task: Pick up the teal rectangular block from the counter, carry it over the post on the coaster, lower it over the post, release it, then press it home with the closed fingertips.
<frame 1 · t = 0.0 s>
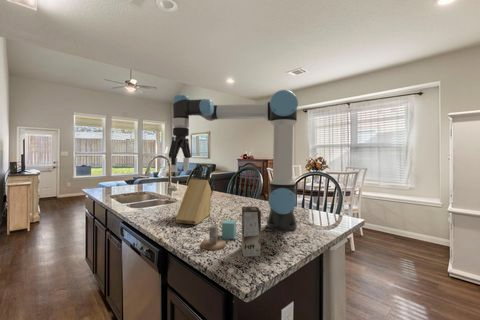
hand: (180, 171, 113), 28 cm above the counter, tool pointing down, fingers open, 13 cm apart
knife block: (197, 217, 134), on the counter
teal rectangular block: (229, 236, 102), on the counter
post: (213, 245, 92), on the counter
coffee box: (250, 252, 86), on the counter
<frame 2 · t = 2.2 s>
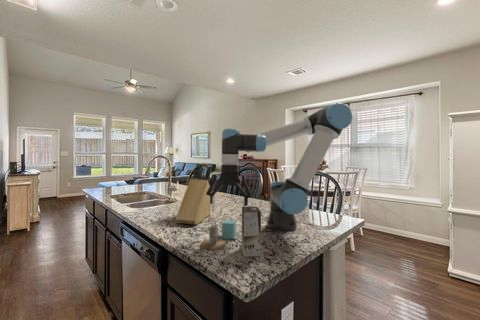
hand: (228, 212, 102), 11 cm above the counter, tool pointing down, fingers open, 13 cm apart
nothing on the counter moved.
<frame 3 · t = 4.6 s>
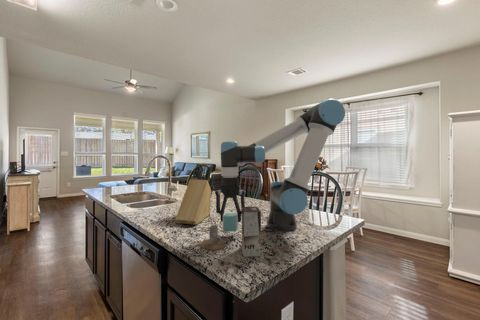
hand: (231, 228, 102), 3 cm above the counter, tool pointing down, fingers closed on teal rectangular block, 5 cm apart
teal rectangular block: (231, 229, 102), point 3 cm above the counter, touching gripper
everything else where it was.
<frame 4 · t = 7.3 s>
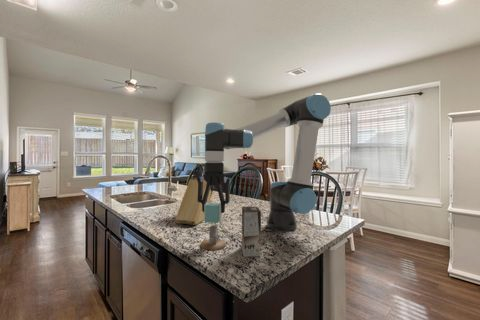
hand: (213, 220, 92), 10 cm above the counter, tool pointing down, fingers closed on teal rectangular block, 5 cm apart
teal rectangular block: (213, 220, 92), point 10 cm above the counter, touching gripper
everything else where it was.
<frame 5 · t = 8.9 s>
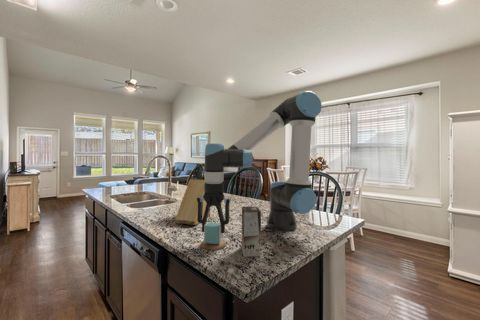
hand: (213, 240, 92), 2 cm above the counter, tool pointing down, fingers closed on teal rectangular block, 5 cm apart
teal rectangular block: (213, 241, 92), point 2 cm above the counter, touching gripper
everything else where it was.
when the fingers open (1 cm above the counter, at t = 9.9 s): teal rectangular block stays where it is, resting on post.
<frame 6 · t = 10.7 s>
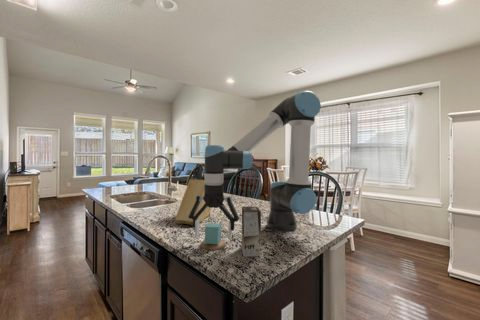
hand: (213, 237, 92), 3 cm above the counter, tool pointing down, fingers open, 13 cm apart
teal rectangular block: (213, 241, 92), point 1 cm above the counter, touching post
everything else where it was.
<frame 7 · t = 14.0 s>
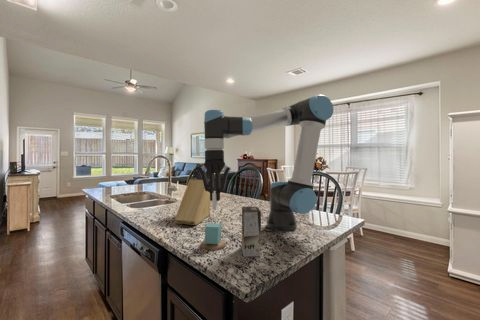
hand: (215, 208, 92), 15 cm above the counter, tool pointing down, fingers closed
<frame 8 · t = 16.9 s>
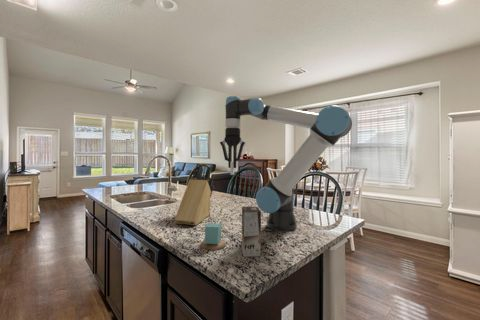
hand: (232, 174, 117), 26 cm above the counter, tool pointing down, fingers closed
at the end: teal rectangular block 0.1 cm from the post (horizontally); teal rectangular block point 1.5 cm above the counter; teal rectangular block tilted 0° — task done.
